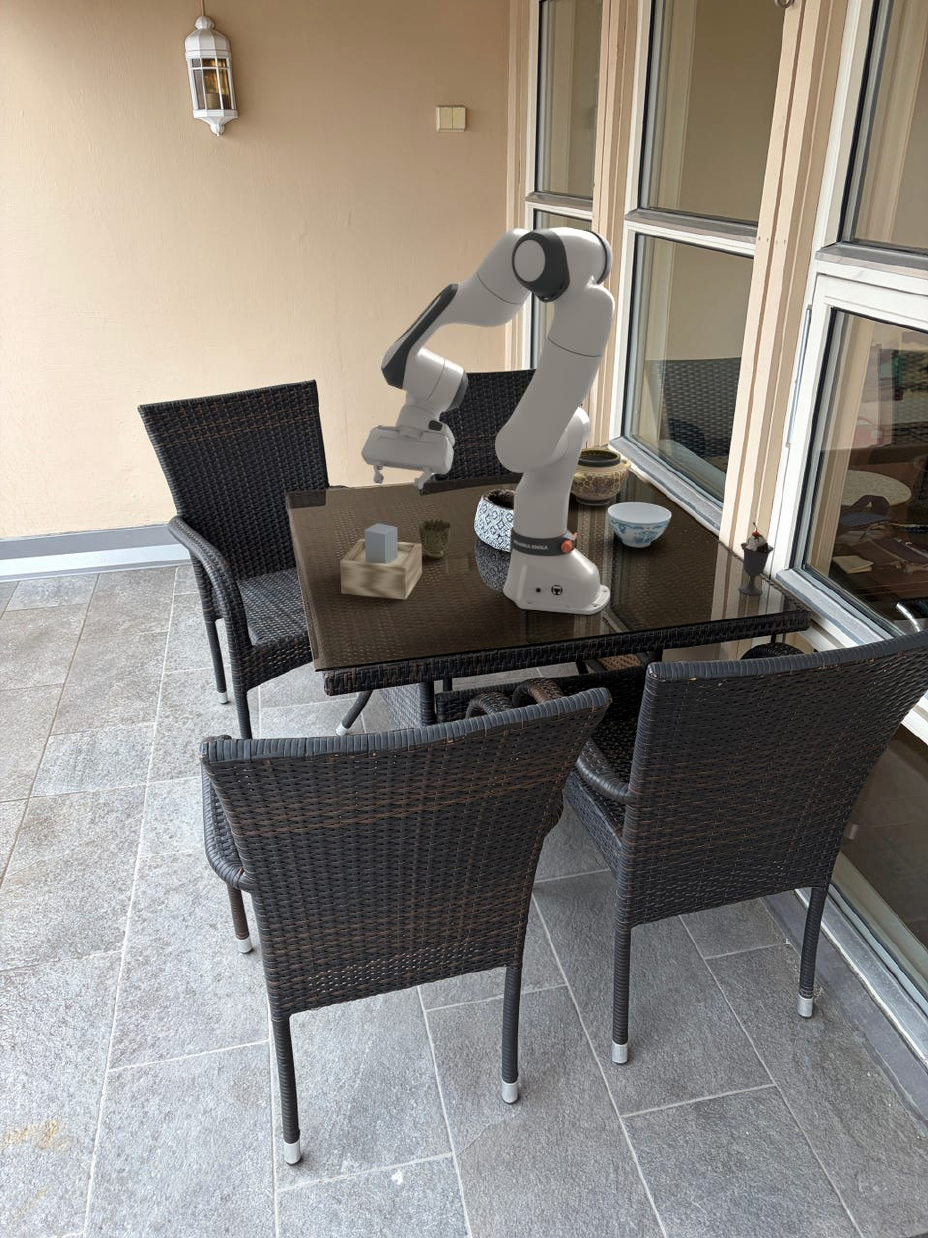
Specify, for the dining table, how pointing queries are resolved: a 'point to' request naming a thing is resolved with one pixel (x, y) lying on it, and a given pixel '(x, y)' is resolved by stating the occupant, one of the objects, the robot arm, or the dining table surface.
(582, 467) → the ceramic bowl
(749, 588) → the sundae
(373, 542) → the slate block
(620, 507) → the chinaware
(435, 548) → the cup
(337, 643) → the dining table surface
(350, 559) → the maple box
